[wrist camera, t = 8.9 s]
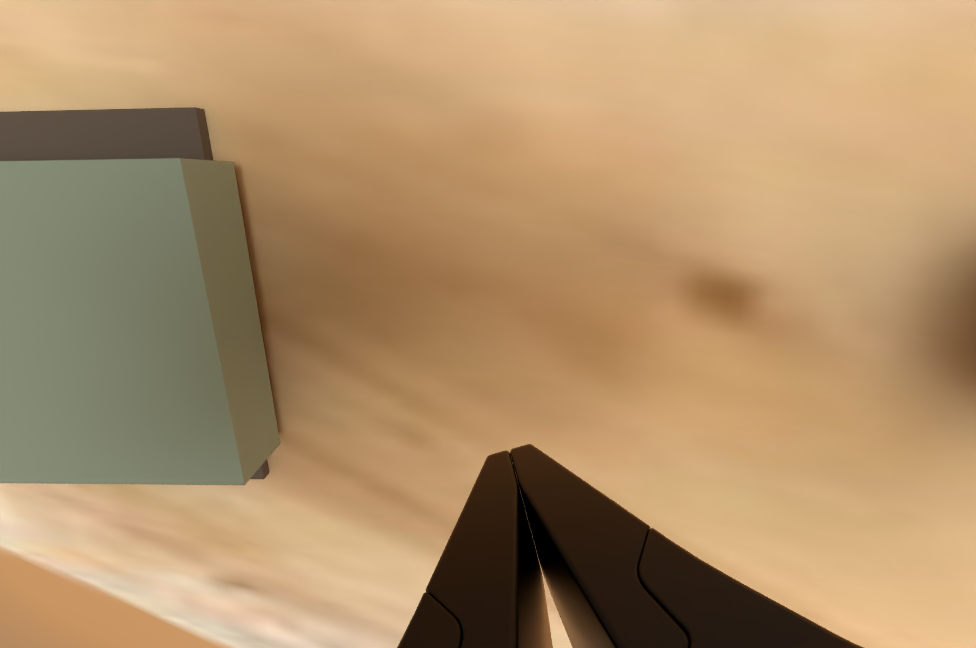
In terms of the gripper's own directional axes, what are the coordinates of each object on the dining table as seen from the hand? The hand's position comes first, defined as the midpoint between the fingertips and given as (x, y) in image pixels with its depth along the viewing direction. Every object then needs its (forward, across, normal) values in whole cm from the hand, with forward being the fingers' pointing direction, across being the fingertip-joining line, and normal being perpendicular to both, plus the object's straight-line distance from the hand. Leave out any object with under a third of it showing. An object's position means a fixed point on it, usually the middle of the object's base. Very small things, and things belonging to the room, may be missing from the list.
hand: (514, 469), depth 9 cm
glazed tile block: (+10, +9, -2) cm, 14 cm away
